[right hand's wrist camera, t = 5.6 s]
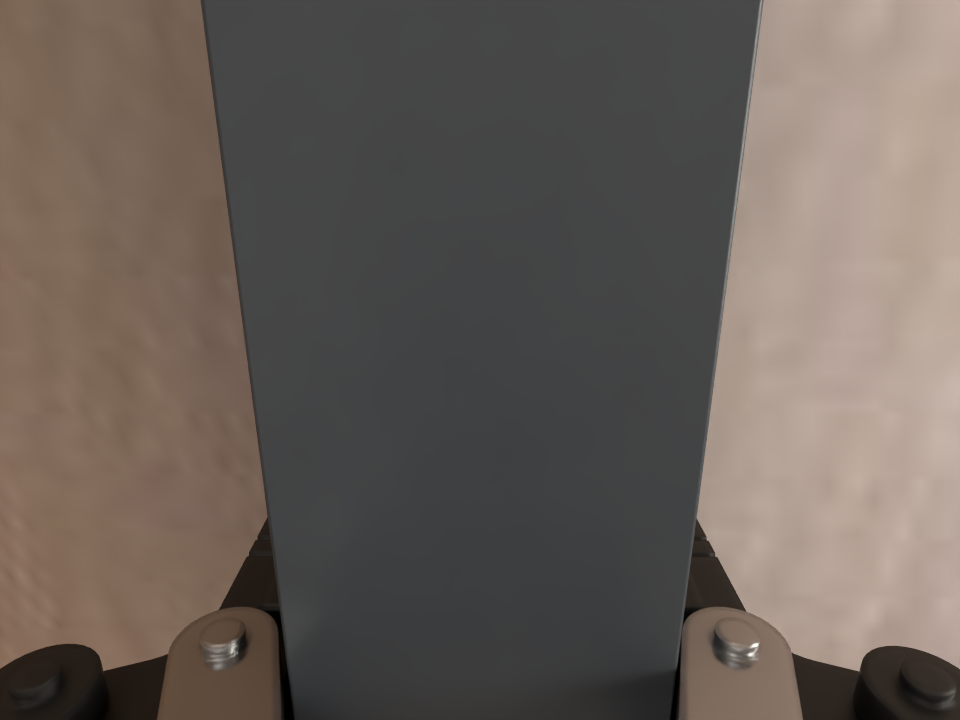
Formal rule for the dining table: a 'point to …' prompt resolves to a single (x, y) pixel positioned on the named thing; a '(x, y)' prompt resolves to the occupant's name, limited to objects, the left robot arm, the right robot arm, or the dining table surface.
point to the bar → (482, 336)
